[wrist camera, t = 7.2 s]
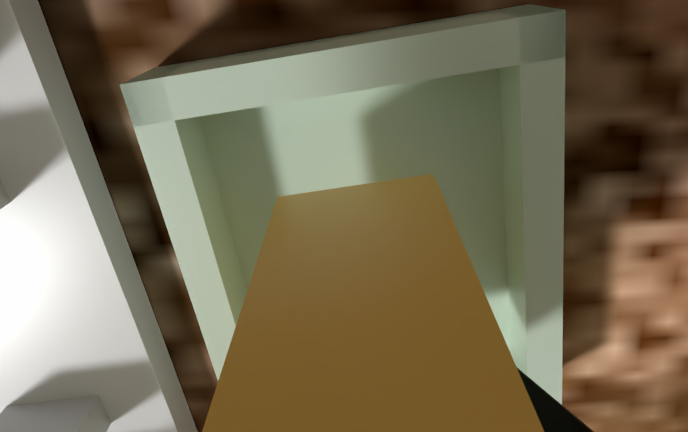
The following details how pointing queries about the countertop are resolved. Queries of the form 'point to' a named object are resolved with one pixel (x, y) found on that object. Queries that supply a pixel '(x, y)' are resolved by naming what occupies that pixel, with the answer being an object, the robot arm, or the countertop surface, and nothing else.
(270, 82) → the tray
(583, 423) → the robot arm
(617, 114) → the countertop surface
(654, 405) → the countertop surface
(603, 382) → the countertop surface
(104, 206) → the block
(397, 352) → the block
